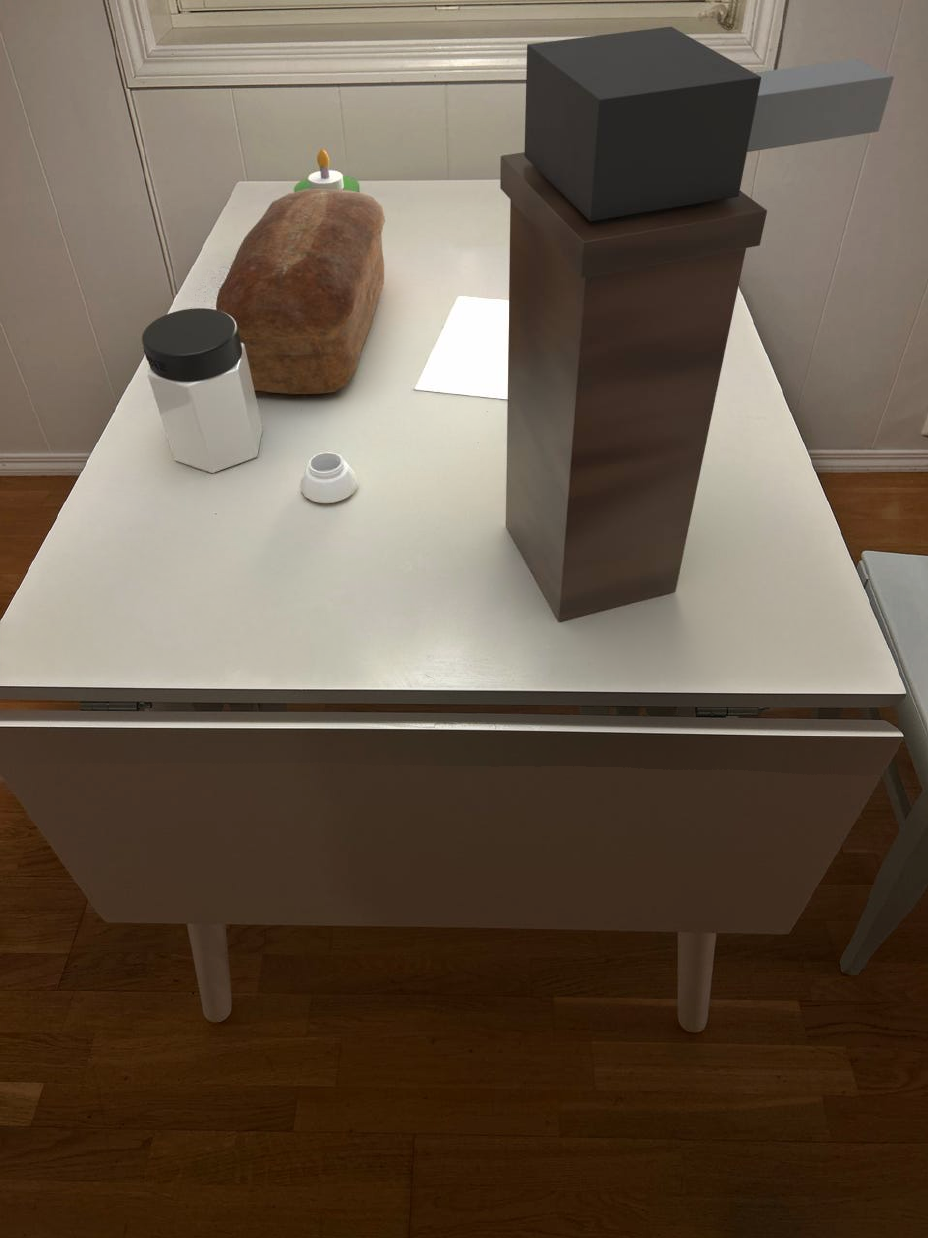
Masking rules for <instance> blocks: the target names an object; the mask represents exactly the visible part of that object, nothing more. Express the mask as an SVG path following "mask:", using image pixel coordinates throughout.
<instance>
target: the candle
mask: <svg viewBox="0 0 928 1238" xmlns="http://www.w3.org/2000/svg"><path fill="white" fill-rule="evenodd" d="M316 160H317V164H318V167H319V170H318V171H315V172H312V173H311V174H309V176H308V177H307V178H305V179H303V180H301V181H299V182H297V183H296V184H295V185H294V187H293V192H297V191H301V190H305V189H336V190H348V191H354V192H360V193H361V188H360V187H361V186H360V182H359V181H358V180H356V178H354V177H350V176H347V175H343V174H342V172H340V171H337V170H331V169H330V167H329V166H330V158H329V155H328V153H327V151H326V150H325V149H320V150H318V153H317V157H316Z"/></svg>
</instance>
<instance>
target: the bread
mask: <svg viewBox="0 0 928 1238" xmlns="http://www.w3.org/2000/svg"><path fill="white" fill-rule="evenodd" d="M385 222H386V218H385V212H384V209H383V205H381V204H380V203H379V202H378V201H377V200H376V199H375V198H374V197H372V196H371V195H368V194H365V193H363V192H361V191H360V192H354V191H348V190H336V189H305V190H301V191H297V192H294V191H293V192H289V193H287V194H285V195H284V196H281V197H280V198H278V199H276V200H273V201H272V202H271V203H270V205H269V206H268V207H267V209H266V211H264V214H263V215H262V217H261V218H260V219H259V220H258V222H256V224H255V225H254V226H253V227H252V228H251V229H250V231H248V233H247V234H246V235H245V236H244V238H243V240H242V242H241V244H240V245H239V248H238V250H237V252H236V254H235V257H234V259H233V262H232V264H231V266H230V268H229V271H228V273H227V275H226V277H225V279H224V280H223V282H222V284H221V286H220V287H219V289H218V290H219V291H218V293H217V296H216V300H215V301H216V303H215V310H218V311H222V312H224V313H226V314H228V315H230V316H231V317H232V318H233V319H234V320H235V322H236V324H237V328H238V332H239V337H240V341H241V343H243V344H244V345H245V349H246V354H247V359H248V363H249V368H250V372H251V377H252V381H253V386H254V391H259V392H266V393H271V394H283V395H284V394H285V395H317V394H318V395H321V394H329V393H335V392H337V391H338V390H339V389H341V388H342V387H344V386H345V385H347V384H348V383H349V382H350V380H351V378H352V377H353V375H354V374H355V372H356V371H357V368H358V364H359V360H360V356H361V352H362V349H363V347H364V344H365V341H366V339H367V336H368V334H369V331H370V328H371V325H372V324H373V323H372V322H373V319H374V316H375V313H376V310H377V306H378V303H379V298H380V296H381V293H382V290H383V287H384V284H385V260H384V252H383V234H382V233H383V229H384V225H385Z"/></svg>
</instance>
